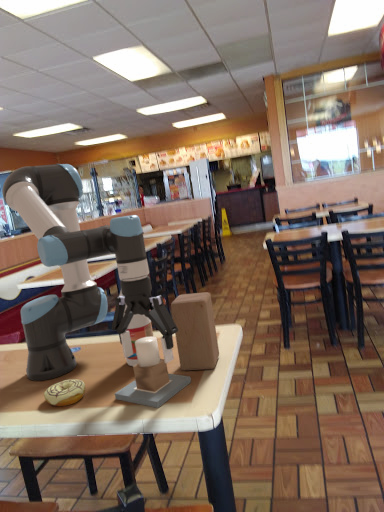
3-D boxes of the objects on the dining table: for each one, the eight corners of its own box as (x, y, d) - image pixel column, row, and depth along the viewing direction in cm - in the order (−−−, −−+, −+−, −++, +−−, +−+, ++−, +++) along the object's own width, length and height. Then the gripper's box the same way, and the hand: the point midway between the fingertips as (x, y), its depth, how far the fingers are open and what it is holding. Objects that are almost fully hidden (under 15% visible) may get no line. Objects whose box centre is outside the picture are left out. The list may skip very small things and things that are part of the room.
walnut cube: (136, 388, 108) (133, 366, 107) (151, 378, 112) (148, 357, 112) (154, 391, 104) (150, 369, 103) (169, 381, 109) (165, 359, 108)
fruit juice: (163, 358, 130) (148, 270, 126) (137, 369, 124) (121, 277, 120) (146, 353, 137) (132, 269, 133) (121, 363, 131) (105, 276, 127)
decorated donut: (51, 413, 105) (48, 399, 104) (42, 399, 114) (39, 386, 113) (91, 398, 110) (89, 384, 109) (80, 385, 119) (77, 373, 119)
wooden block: (215, 370, 116) (204, 299, 113) (180, 372, 118) (169, 303, 115) (220, 355, 125) (210, 290, 123) (187, 358, 127) (177, 294, 125)
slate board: (115, 399, 107) (114, 393, 107) (150, 375, 118) (149, 370, 118) (158, 407, 99) (156, 401, 99) (191, 382, 110) (190, 376, 110)
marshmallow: (134, 366, 107) (130, 343, 106) (148, 357, 111) (144, 335, 111) (151, 368, 104) (147, 345, 103) (164, 359, 108) (161, 337, 107)
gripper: (89, 281, 109) (103, 359, 112) (164, 280, 94) (179, 369, 97) (110, 275, 115) (123, 348, 118) (183, 273, 101) (196, 357, 103)
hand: (148, 358), depth 107 cm, fingers open, 13 cm apart
